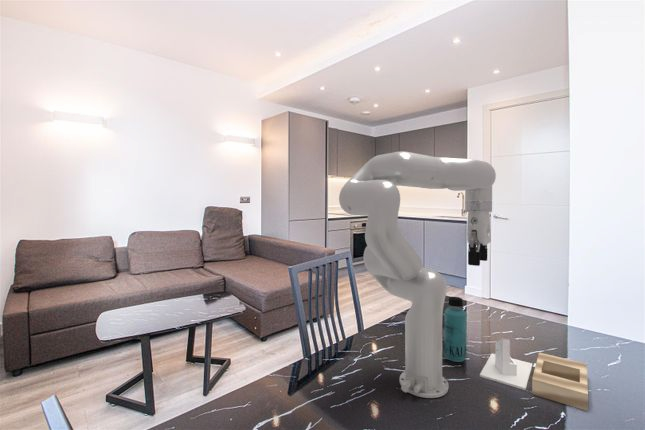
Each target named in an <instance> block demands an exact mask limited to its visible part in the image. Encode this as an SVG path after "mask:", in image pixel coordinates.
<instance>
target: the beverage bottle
mask: <svg viewBox="0 0 645 430" xmlns="http://www.w3.org/2000/svg"><path fill="white" fill-rule="evenodd" d="M463 302H464V301H463V298H462V297H459V296H449V297H448V301H447V304H448V305H449V307H447V308H445V310H444V323H443V325H444V327H443V328H444V329H443V335H444V336H443V339H444V340H443V356H444V357H445V359H447V360H448V361H451V362H458V363H459V362H460V363H461V362H464V361H465V360H466V358H467V312H466V311H465V310H464V309H463V308H461V307H463V306H464V303H463Z"/></svg>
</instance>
